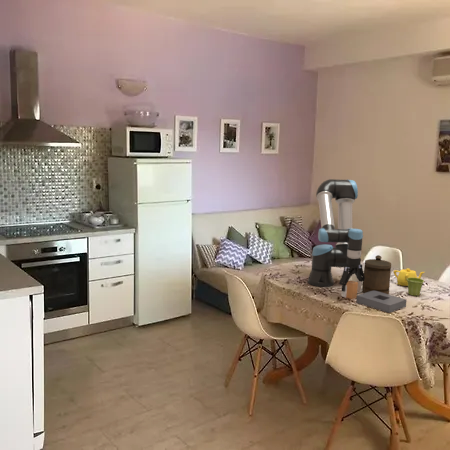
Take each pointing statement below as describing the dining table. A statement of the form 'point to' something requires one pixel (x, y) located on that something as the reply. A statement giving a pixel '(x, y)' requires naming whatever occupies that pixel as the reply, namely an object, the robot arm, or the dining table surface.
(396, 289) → the dining table surface
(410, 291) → the plant pot
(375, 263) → the wooden container
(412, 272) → the teapot
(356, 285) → the orange plug
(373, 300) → the socket board
